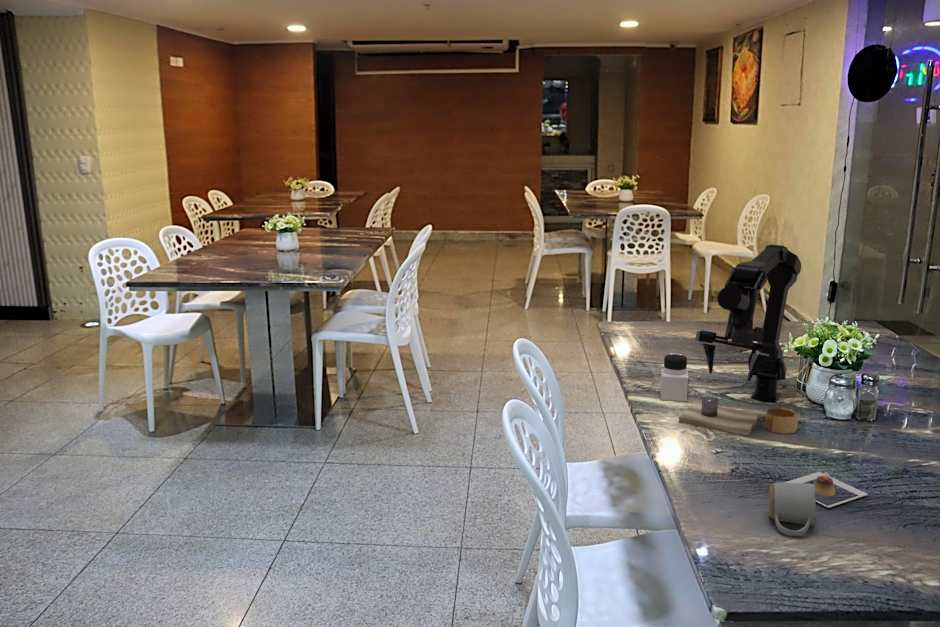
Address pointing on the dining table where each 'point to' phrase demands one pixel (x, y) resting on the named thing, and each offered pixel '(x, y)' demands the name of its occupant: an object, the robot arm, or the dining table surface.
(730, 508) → the dining table surface
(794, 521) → the ceramic mug
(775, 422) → the ring
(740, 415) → the piston stand
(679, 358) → the medicine bottle
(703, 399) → the piston
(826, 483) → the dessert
